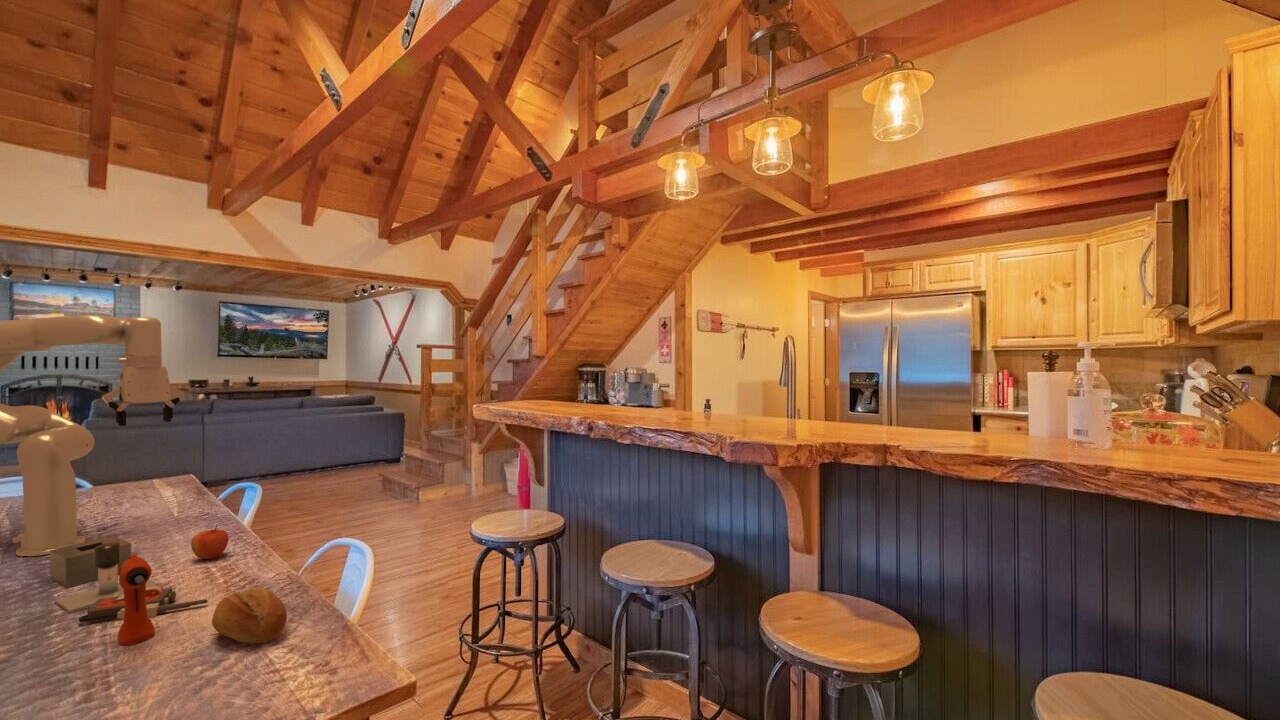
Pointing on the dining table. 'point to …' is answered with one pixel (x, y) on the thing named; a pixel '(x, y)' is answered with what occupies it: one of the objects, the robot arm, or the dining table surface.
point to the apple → (209, 543)
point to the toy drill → (135, 601)
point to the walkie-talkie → (154, 604)
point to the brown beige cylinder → (107, 567)
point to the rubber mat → (89, 598)
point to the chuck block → (81, 561)
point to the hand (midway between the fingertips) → (145, 423)
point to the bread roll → (250, 616)
